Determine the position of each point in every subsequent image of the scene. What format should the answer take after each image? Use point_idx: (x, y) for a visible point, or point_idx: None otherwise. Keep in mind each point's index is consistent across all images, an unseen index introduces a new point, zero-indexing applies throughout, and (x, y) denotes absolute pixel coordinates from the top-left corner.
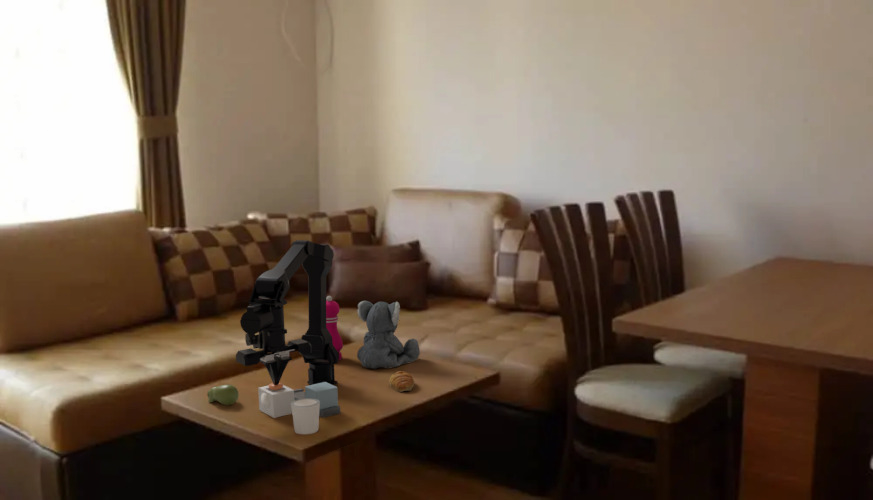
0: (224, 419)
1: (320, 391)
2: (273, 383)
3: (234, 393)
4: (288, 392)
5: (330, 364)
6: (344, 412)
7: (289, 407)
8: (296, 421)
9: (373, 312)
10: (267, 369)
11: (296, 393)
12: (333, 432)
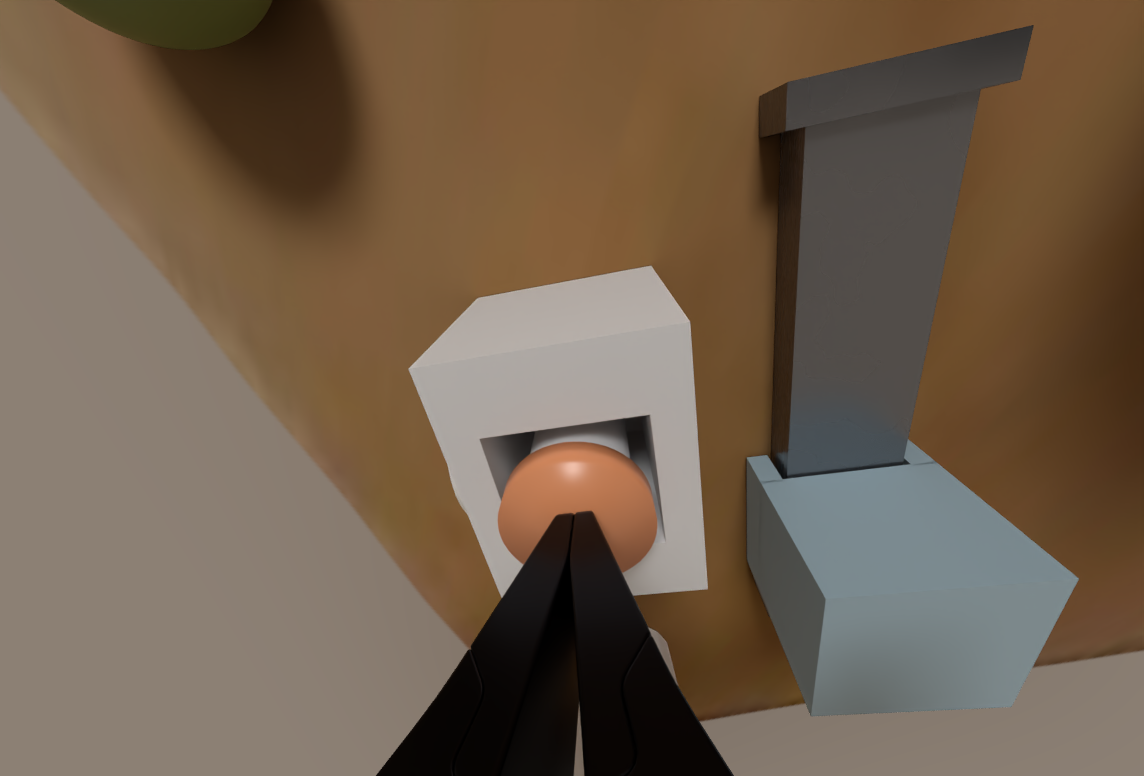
0: (238, 358)
1: (843, 710)
2: (553, 526)
3: (181, 2)
4: (650, 585)
5: None
6: None
7: None
8: None
9: None
10: (432, 721)
11: (874, 169)
12: (698, 700)
